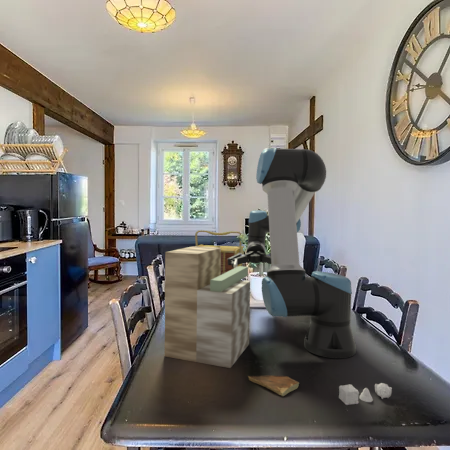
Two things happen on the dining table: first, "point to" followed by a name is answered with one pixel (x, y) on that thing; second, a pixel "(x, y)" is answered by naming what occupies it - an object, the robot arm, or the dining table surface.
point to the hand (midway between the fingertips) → (254, 268)
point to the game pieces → (351, 394)
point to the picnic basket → (224, 250)
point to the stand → (203, 309)
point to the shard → (276, 383)
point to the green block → (228, 278)
